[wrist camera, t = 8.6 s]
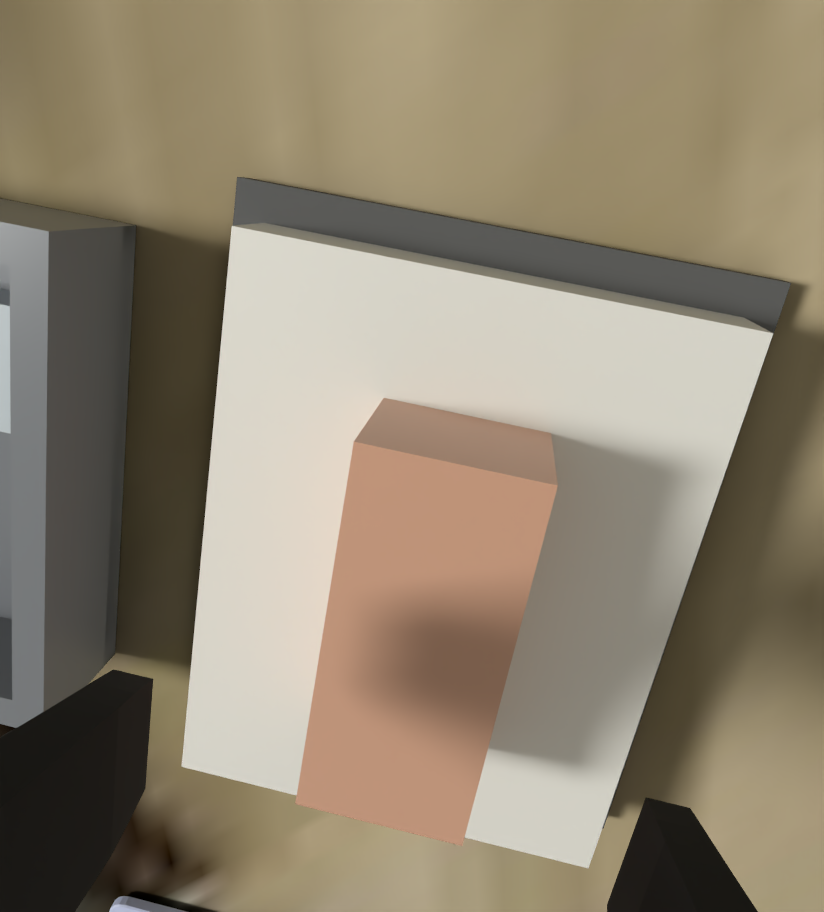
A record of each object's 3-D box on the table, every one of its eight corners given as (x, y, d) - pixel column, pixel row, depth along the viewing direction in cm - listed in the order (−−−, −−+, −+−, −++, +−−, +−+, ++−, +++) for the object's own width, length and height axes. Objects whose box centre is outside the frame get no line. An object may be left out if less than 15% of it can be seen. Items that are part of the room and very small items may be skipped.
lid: (582, 807, 21) (600, 986, 16) (211, 716, 21) (124, 861, 17) (743, 317, 16) (835, 366, 11) (264, 222, 17) (164, 232, 12)
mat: (601, 815, 21) (603, 828, 21) (194, 715, 22) (186, 727, 22) (783, 280, 16) (790, 283, 16) (245, 177, 17) (236, 177, 17)
